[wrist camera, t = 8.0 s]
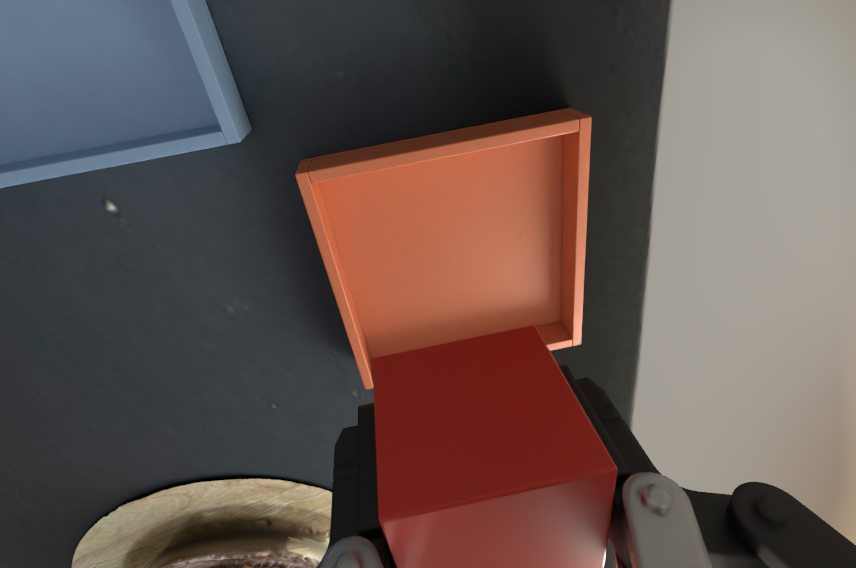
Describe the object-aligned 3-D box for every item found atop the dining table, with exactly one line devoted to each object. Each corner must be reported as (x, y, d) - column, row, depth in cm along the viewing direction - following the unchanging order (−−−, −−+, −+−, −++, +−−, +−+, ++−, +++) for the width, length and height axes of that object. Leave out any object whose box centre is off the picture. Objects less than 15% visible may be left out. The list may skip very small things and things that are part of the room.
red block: (535, 323, 12) (619, 468, 8) (537, 431, 14) (602, 584, 10) (371, 356, 12) (377, 522, 8) (401, 460, 14) (417, 626, 10)
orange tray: (570, 107, 22) (592, 116, 20) (565, 321, 30) (581, 344, 28) (300, 159, 22) (294, 174, 20) (364, 363, 30) (365, 390, 27)
